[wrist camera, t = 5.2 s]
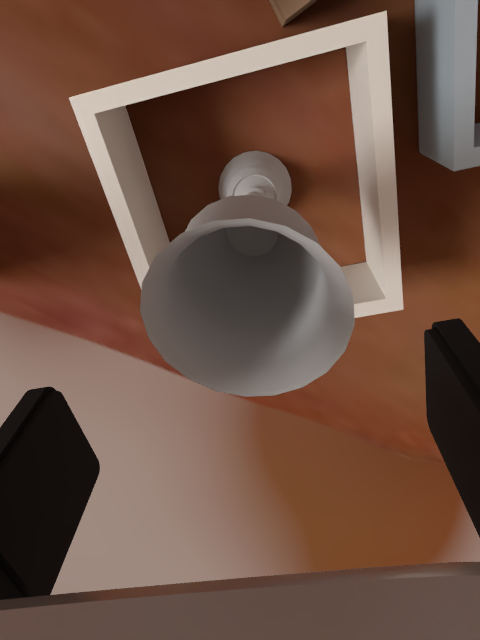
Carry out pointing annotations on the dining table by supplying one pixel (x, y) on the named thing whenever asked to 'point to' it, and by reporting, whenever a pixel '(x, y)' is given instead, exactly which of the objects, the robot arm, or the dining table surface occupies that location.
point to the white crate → (356, 35)
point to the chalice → (248, 290)
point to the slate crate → (447, 81)
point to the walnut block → (289, 9)
